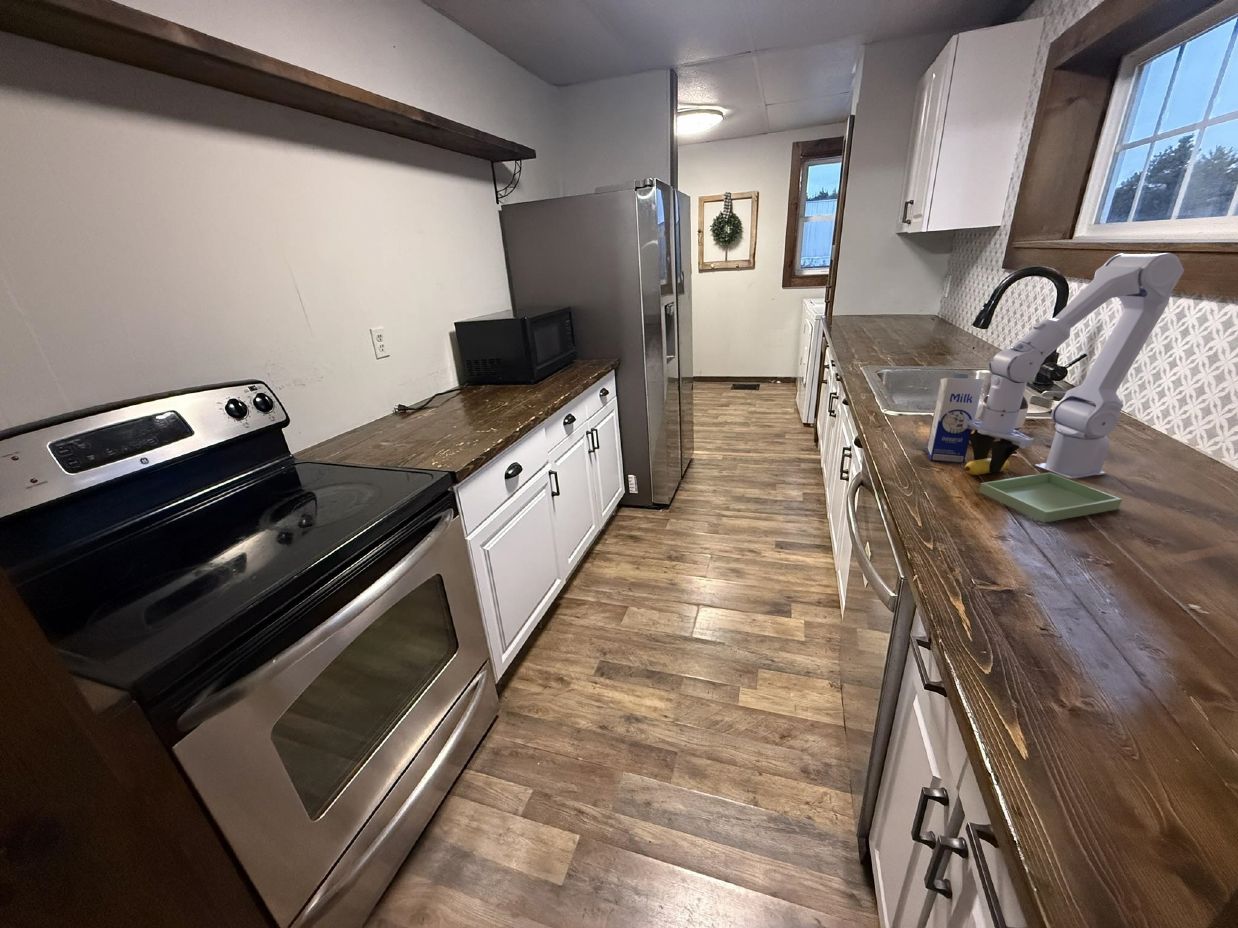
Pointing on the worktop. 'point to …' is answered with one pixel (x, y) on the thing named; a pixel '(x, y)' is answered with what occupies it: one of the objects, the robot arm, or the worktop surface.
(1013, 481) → the tray
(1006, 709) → the worktop surface
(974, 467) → the banana
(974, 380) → the milk carton
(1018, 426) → the spread jar
